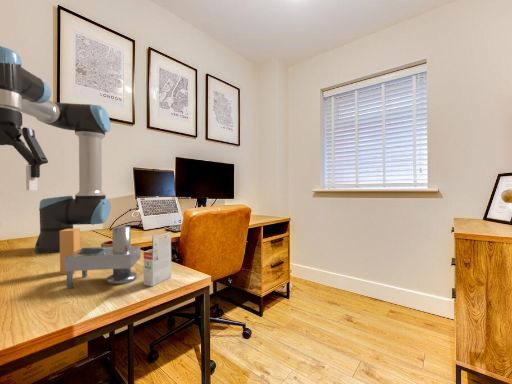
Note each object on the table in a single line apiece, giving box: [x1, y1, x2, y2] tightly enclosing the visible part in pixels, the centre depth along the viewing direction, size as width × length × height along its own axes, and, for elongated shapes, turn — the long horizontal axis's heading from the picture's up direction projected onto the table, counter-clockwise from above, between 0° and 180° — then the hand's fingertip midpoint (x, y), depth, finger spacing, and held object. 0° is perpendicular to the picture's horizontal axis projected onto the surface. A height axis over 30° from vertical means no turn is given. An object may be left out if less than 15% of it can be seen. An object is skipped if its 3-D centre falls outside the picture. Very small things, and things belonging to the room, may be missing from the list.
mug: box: [100, 240, 113, 247], centre depth 100 cm, size 12×7×7 cm, turn 37°
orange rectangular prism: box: [59, 228, 81, 275], centre depth 83 cm, size 4×4×14 cm
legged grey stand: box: [65, 225, 141, 290], centre depth 76 cm, size 17×10×16 cm, turn 100°
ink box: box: [143, 230, 172, 287], centre depth 76 cm, size 4×8×15 cm, turn 158°
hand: (4, 190), depth 67 cm, fingers open, 13 cm apart
